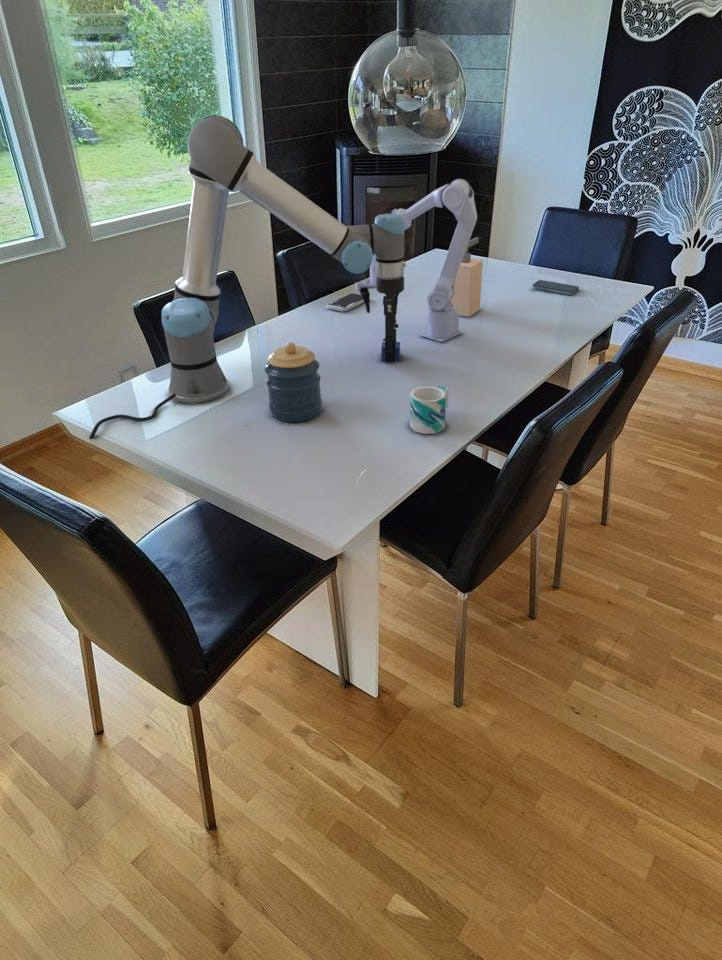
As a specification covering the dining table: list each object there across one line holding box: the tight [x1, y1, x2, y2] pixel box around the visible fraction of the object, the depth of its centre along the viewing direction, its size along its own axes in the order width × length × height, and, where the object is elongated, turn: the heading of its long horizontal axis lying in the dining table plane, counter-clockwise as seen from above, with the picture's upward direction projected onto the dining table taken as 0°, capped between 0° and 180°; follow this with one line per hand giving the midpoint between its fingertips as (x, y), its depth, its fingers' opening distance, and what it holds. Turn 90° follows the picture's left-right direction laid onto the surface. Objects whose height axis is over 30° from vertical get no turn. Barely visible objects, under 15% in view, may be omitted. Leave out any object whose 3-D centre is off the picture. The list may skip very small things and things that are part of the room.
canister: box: [264, 342, 323, 423], centre depth 161 cm, size 13×13×18 cm
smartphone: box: [326, 292, 364, 312], centre depth 233 cm, size 8×1×15 cm
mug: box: [409, 385, 450, 435], centre depth 156 cm, size 8×12×8 cm
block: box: [380, 341, 401, 362], centre depth 191 cm, size 4×5×4 cm
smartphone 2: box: [531, 279, 580, 296], centre depth 239 cm, size 8×2×15 cm
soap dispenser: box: [451, 236, 484, 318], centre depth 219 cm, size 13×9×22 cm
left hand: (391, 355), depth 192 cm, fingers open, 8 cm apart
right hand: (380, 310), depth 207 cm, fingers open, 7 cm apart
